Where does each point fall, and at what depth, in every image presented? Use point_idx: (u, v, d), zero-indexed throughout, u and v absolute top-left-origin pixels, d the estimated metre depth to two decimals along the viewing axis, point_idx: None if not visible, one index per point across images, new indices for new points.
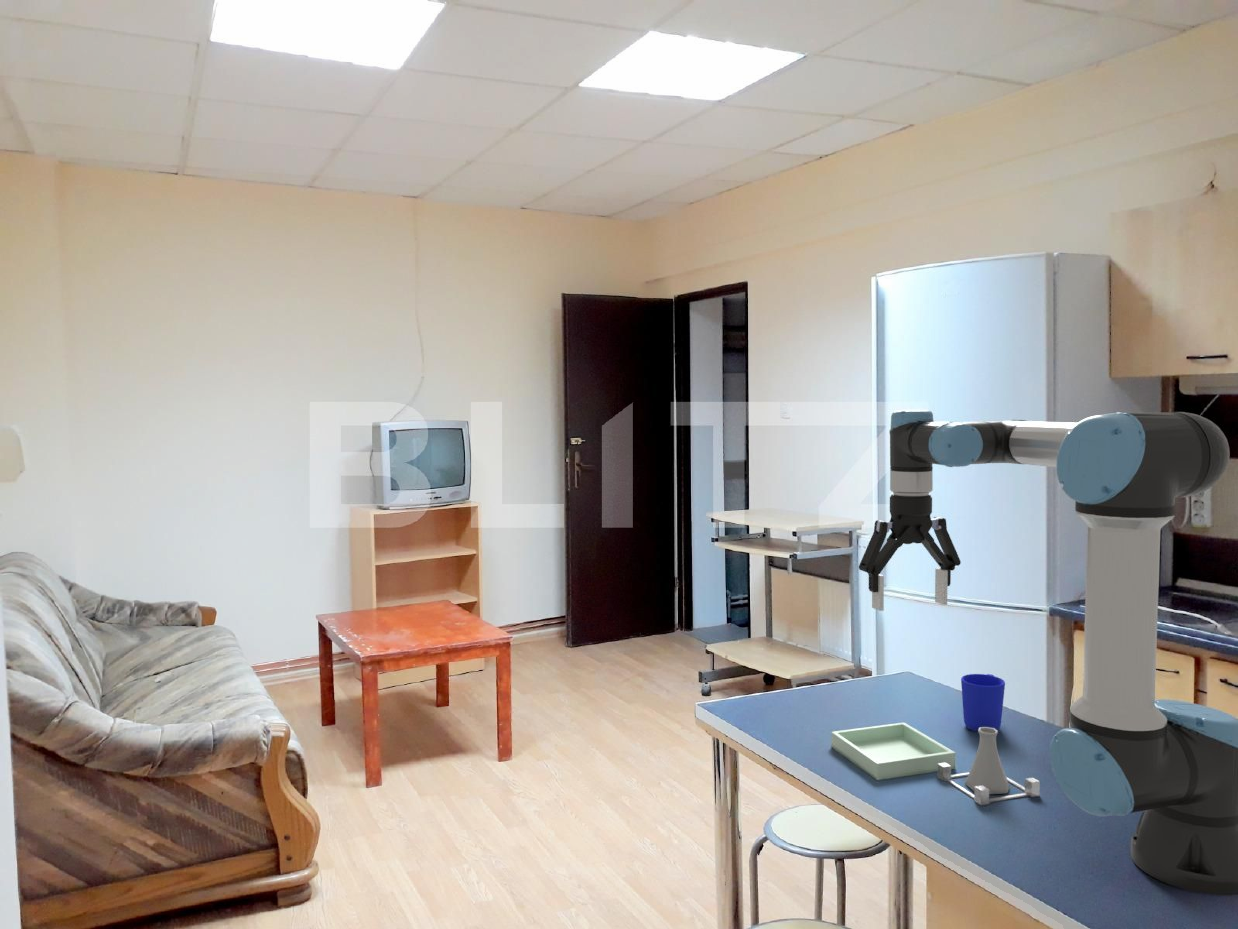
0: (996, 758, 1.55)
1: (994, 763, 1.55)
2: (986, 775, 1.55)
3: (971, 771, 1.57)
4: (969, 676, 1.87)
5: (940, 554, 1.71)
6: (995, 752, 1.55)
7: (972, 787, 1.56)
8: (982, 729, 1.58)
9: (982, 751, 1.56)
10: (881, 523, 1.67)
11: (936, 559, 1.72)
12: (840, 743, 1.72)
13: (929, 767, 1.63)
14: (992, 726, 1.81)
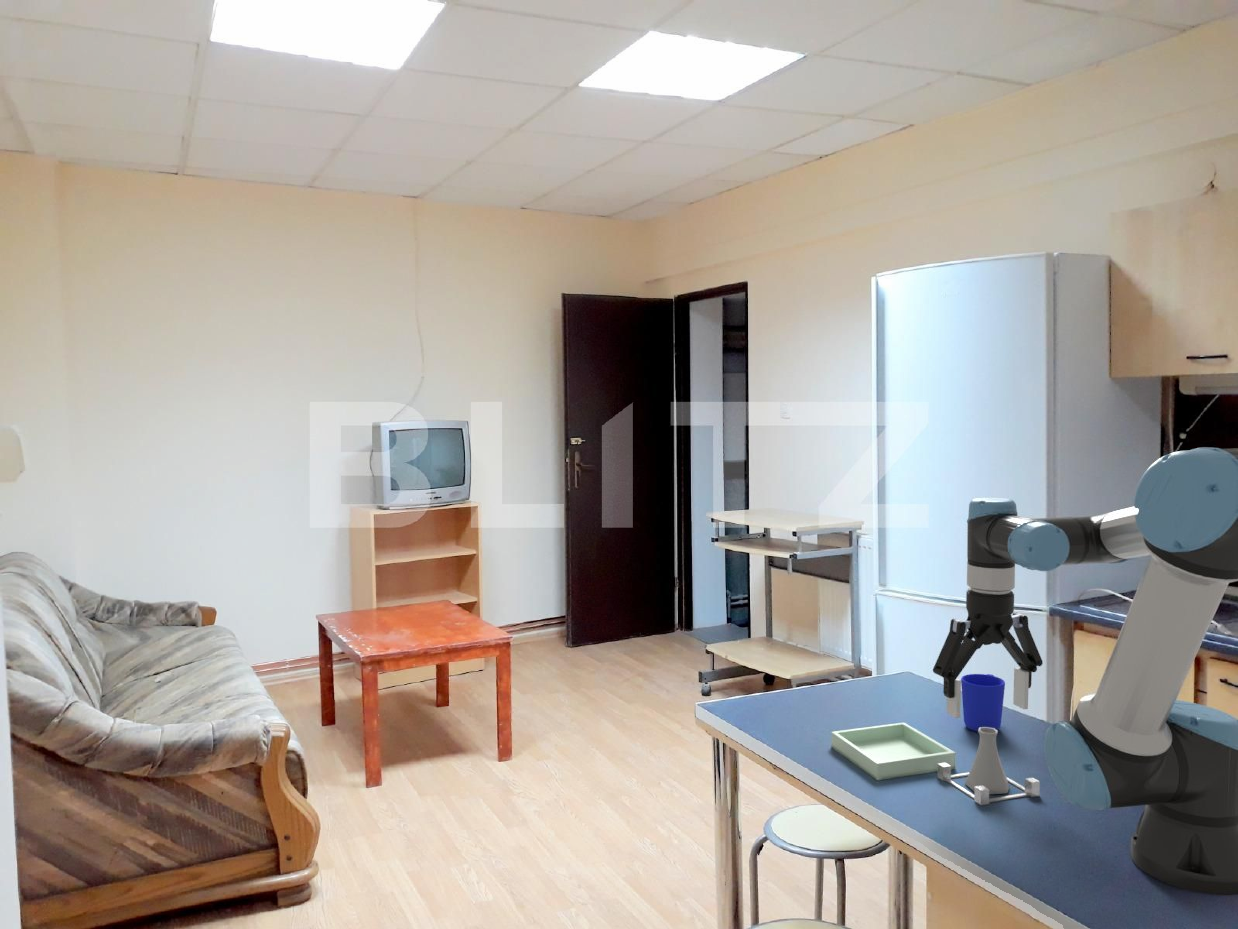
0: (996, 758, 1.55)
1: (994, 763, 1.55)
2: (986, 775, 1.55)
3: (971, 771, 1.57)
4: (969, 676, 1.87)
5: (1021, 655, 1.56)
6: (995, 752, 1.55)
7: (972, 787, 1.56)
8: (982, 729, 1.58)
9: (982, 751, 1.56)
10: (959, 623, 1.52)
11: (1016, 659, 1.58)
12: (840, 743, 1.72)
13: (929, 767, 1.63)
14: (992, 726, 1.81)
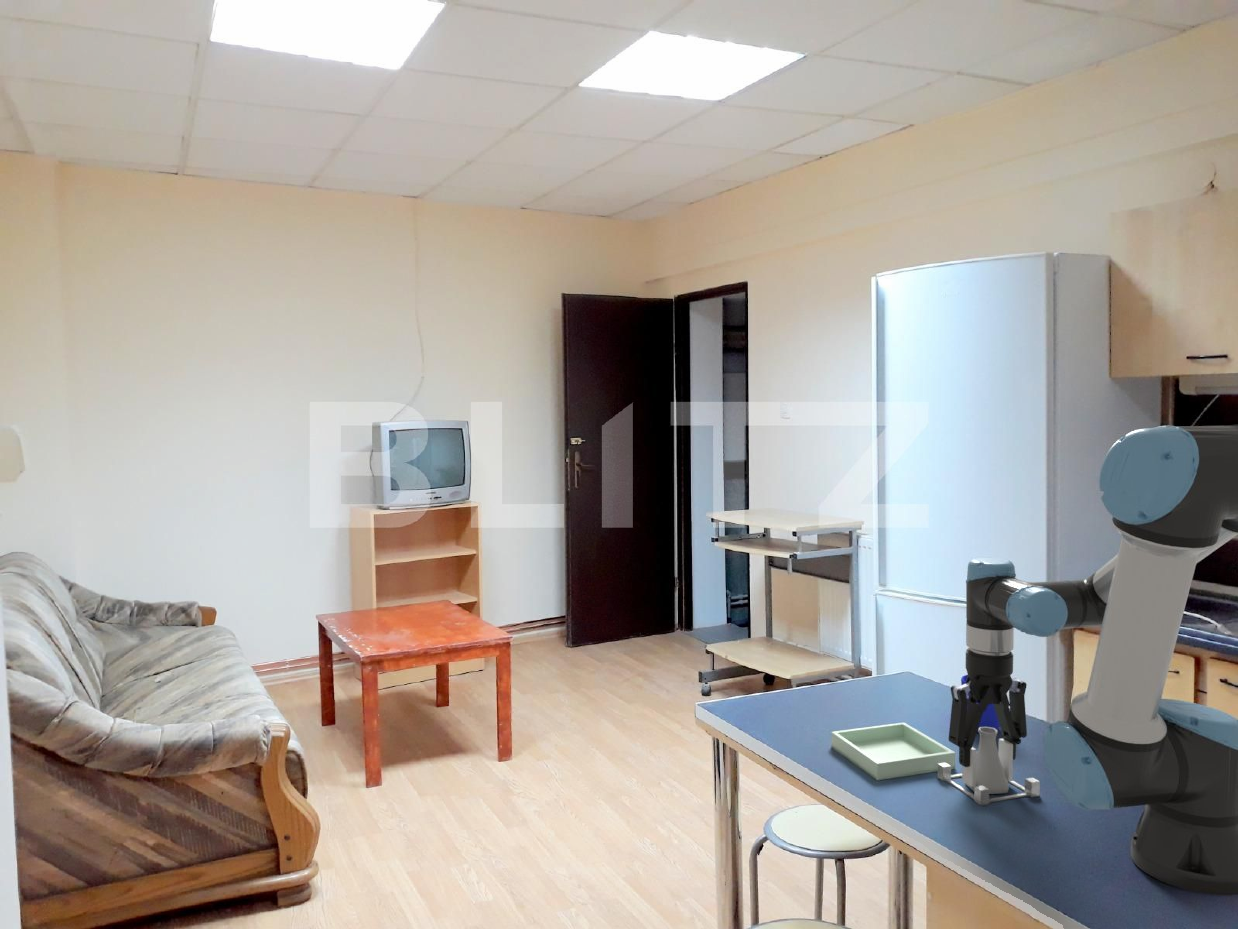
0: (996, 758, 1.55)
1: (994, 763, 1.55)
2: (986, 775, 1.55)
3: None
4: None
5: (1010, 723, 1.56)
6: (995, 752, 1.55)
7: (972, 787, 1.56)
8: (982, 729, 1.58)
9: (982, 751, 1.56)
10: (958, 692, 1.53)
11: (1003, 727, 1.58)
12: (840, 743, 1.72)
13: (929, 767, 1.63)
14: (992, 726, 1.81)
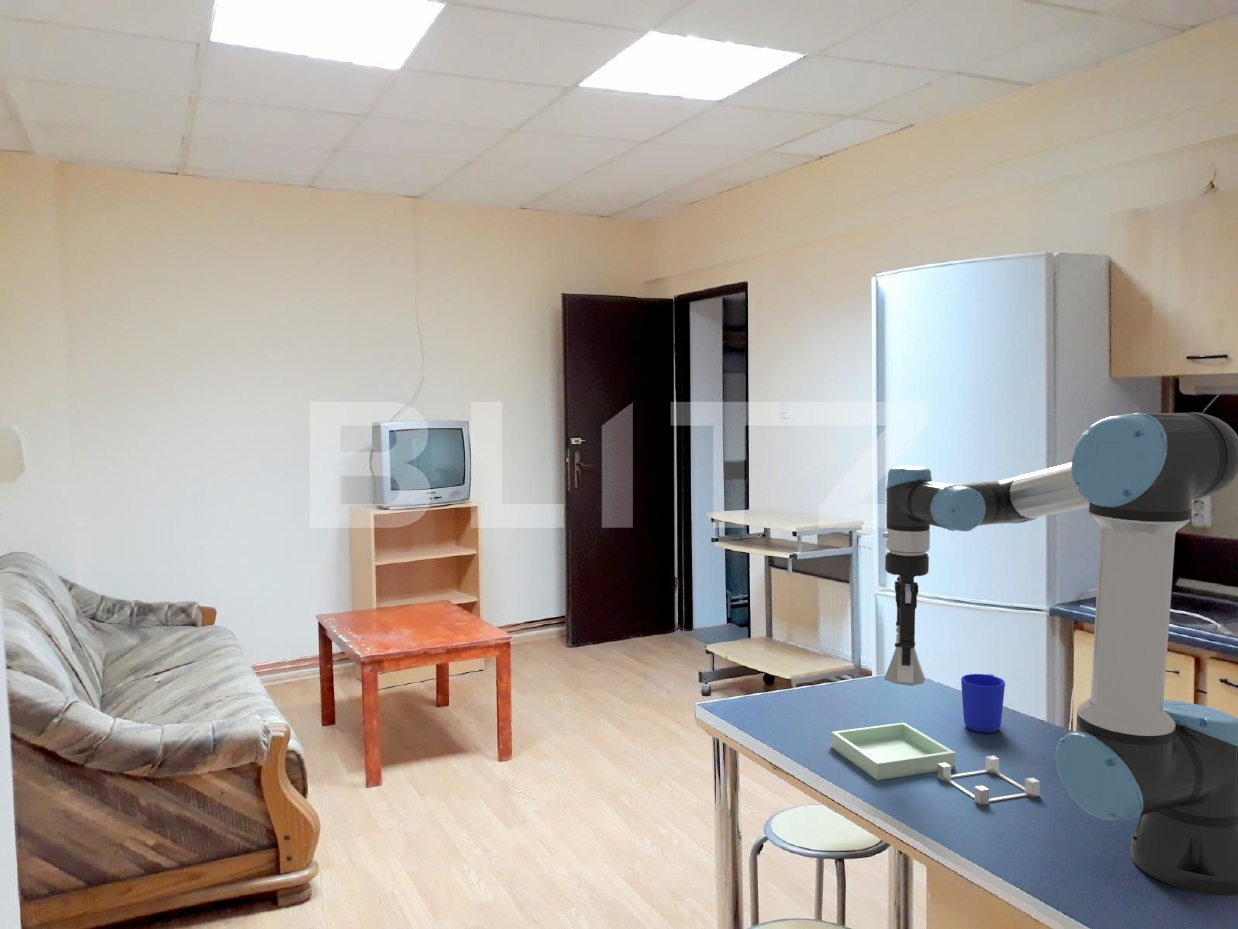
0: (915, 650, 1.67)
1: (916, 655, 1.67)
2: (916, 668, 1.66)
3: None
4: (969, 676, 1.87)
5: None
6: None
7: (909, 683, 1.64)
8: (898, 628, 1.67)
9: None
10: (913, 595, 1.60)
11: None
12: (840, 743, 1.72)
13: (929, 767, 1.63)
14: (992, 726, 1.81)
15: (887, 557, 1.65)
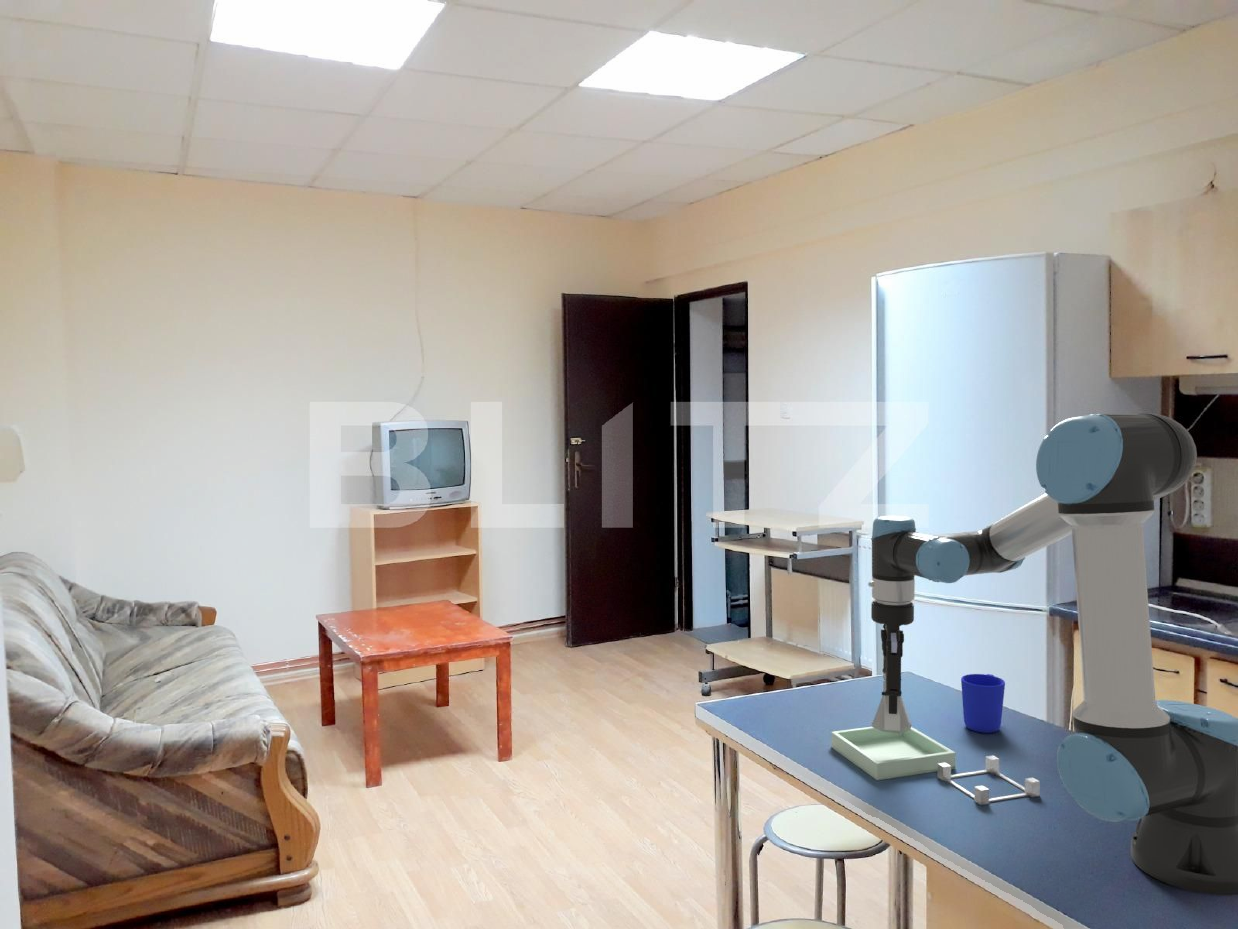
0: (901, 697, 1.69)
1: (902, 702, 1.69)
2: (902, 715, 1.68)
3: None
4: (969, 676, 1.87)
5: None
6: None
7: (896, 731, 1.66)
8: (885, 676, 1.69)
9: None
10: (899, 645, 1.62)
11: None
12: (840, 743, 1.72)
13: (929, 767, 1.63)
14: (992, 726, 1.81)
15: (873, 606, 1.68)
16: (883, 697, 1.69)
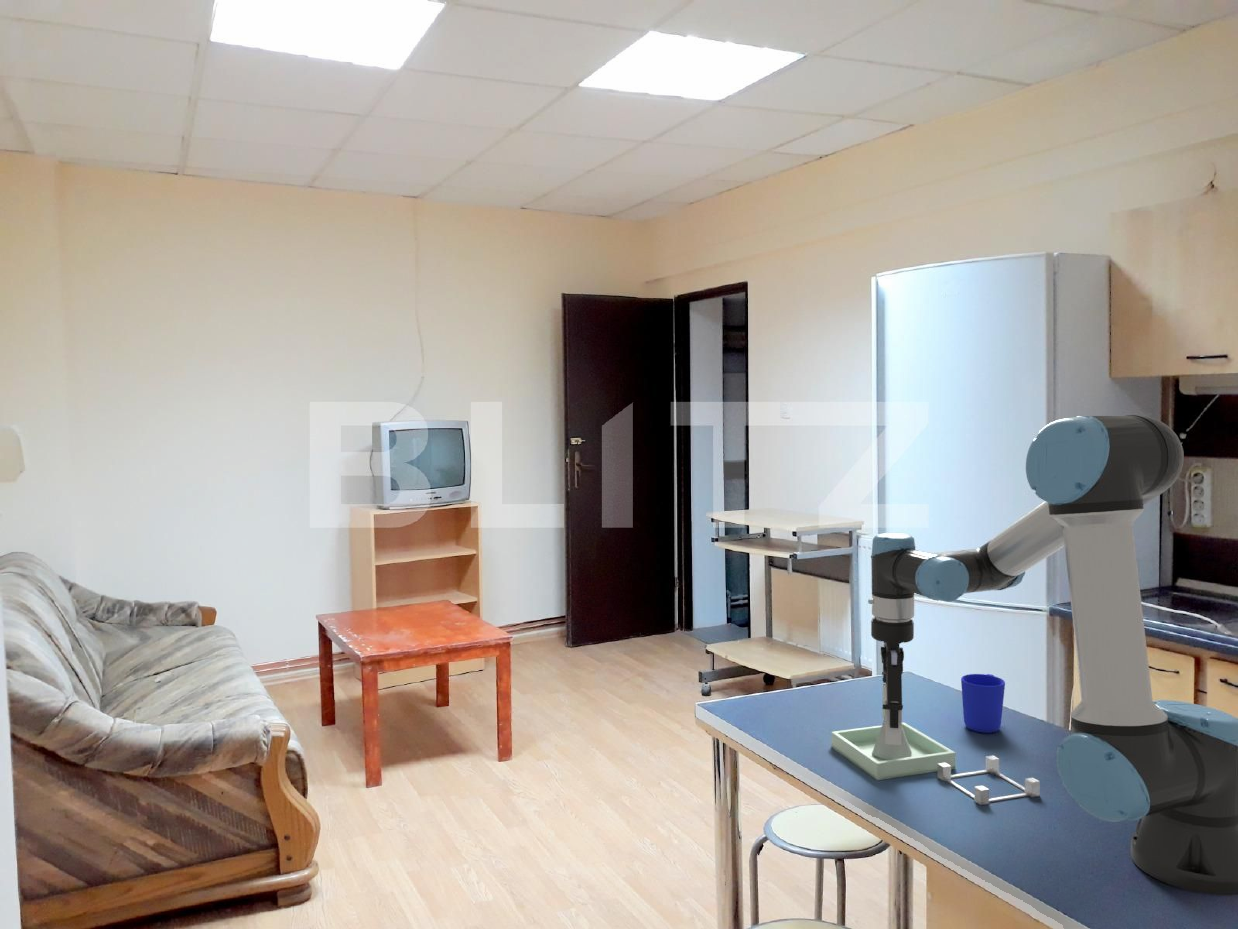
0: None
1: (902, 730, 1.69)
2: (903, 743, 1.68)
3: (887, 745, 1.68)
4: (969, 676, 1.87)
5: None
6: None
7: None
8: None
9: None
10: (899, 655, 1.62)
11: None
12: (840, 743, 1.72)
13: (929, 767, 1.63)
14: (992, 726, 1.81)
15: (873, 623, 1.68)
16: (883, 725, 1.69)
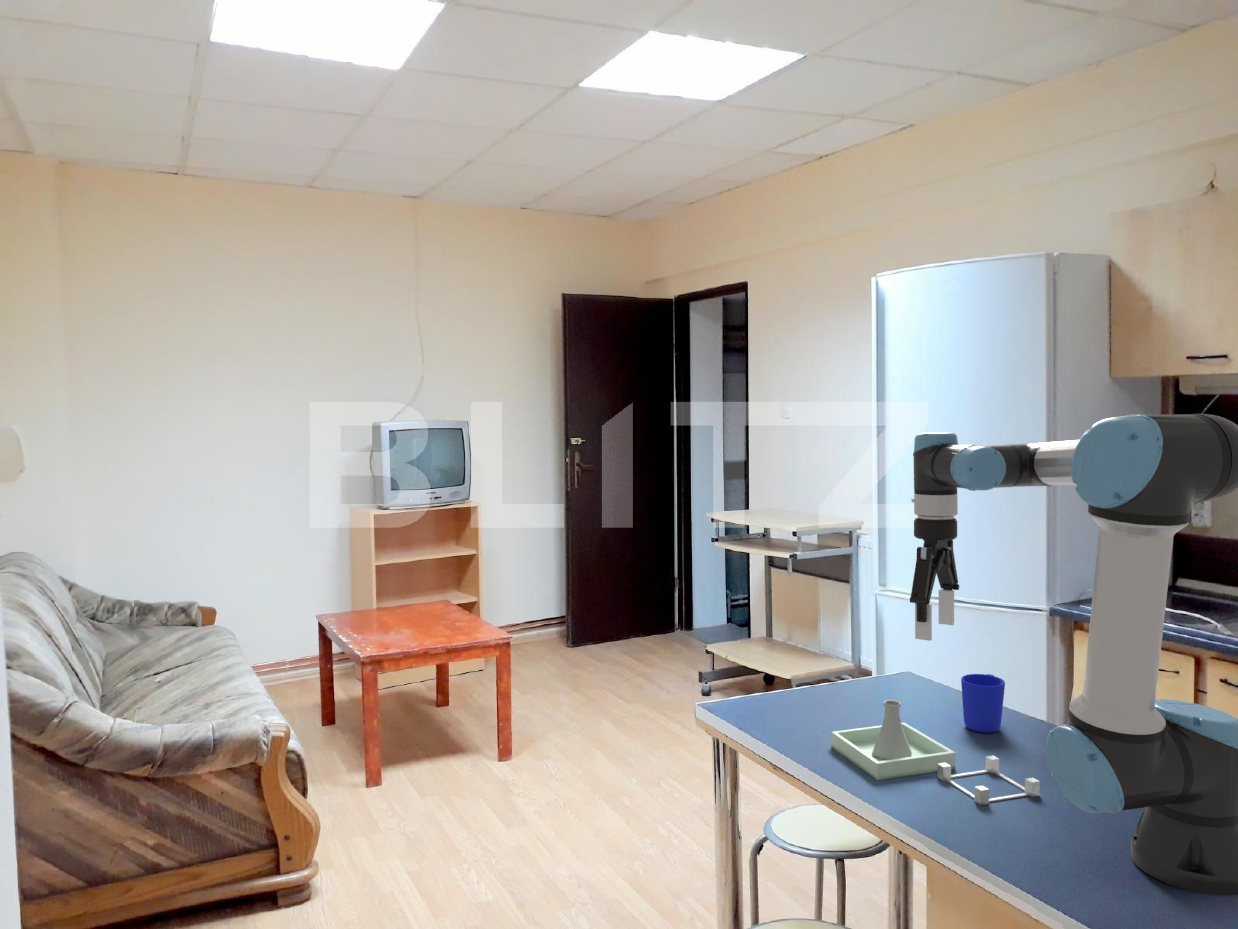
0: (901, 725, 1.70)
1: (902, 730, 1.69)
2: (903, 743, 1.68)
3: (887, 745, 1.68)
4: (969, 676, 1.87)
5: (951, 575, 1.72)
6: (900, 720, 1.70)
7: None
8: None
9: (895, 723, 1.68)
10: (928, 550, 1.61)
11: (943, 581, 1.73)
12: (840, 743, 1.72)
13: (929, 767, 1.63)
14: (992, 726, 1.81)
15: (914, 521, 1.68)
16: (883, 725, 1.69)
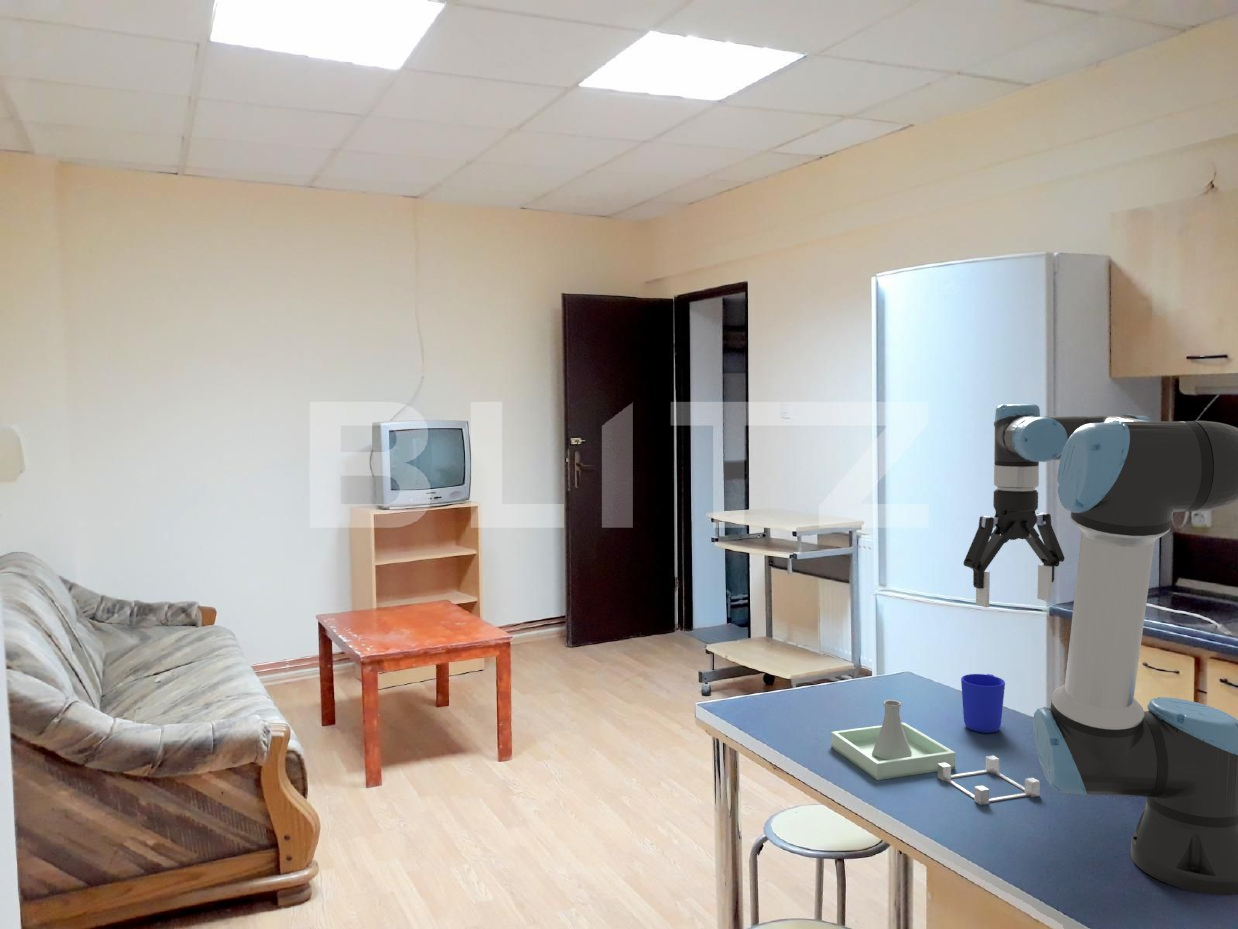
0: (901, 725, 1.70)
1: (902, 730, 1.69)
2: (903, 743, 1.68)
3: (887, 745, 1.68)
4: (969, 676, 1.87)
5: (1045, 550, 1.69)
6: (900, 720, 1.70)
7: None
8: None
9: (895, 723, 1.68)
10: (987, 518, 1.65)
11: (1039, 555, 1.70)
12: (840, 743, 1.72)
13: (929, 767, 1.63)
14: (992, 726, 1.81)
15: None
16: (883, 725, 1.69)
